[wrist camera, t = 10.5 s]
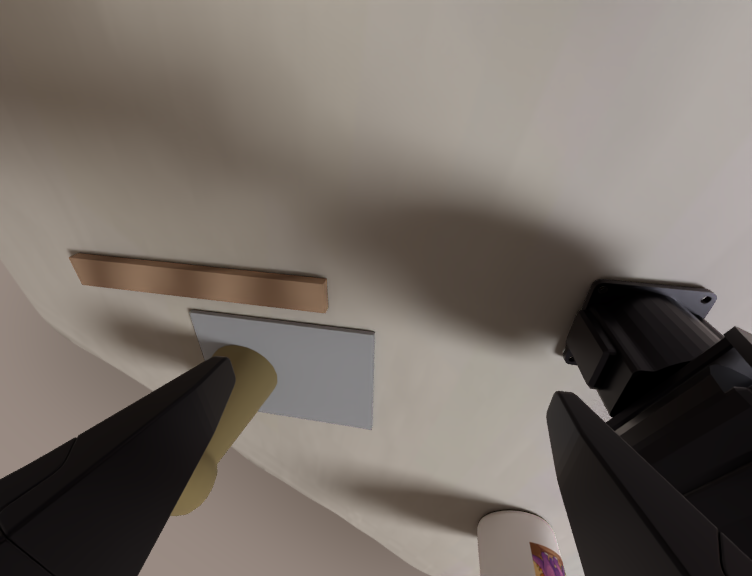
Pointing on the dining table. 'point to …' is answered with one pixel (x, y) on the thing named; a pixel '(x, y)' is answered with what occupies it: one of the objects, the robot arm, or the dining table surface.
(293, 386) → the mat
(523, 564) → the milk bottle
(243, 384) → the cork
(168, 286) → the walnut line
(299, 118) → the dining table surface
